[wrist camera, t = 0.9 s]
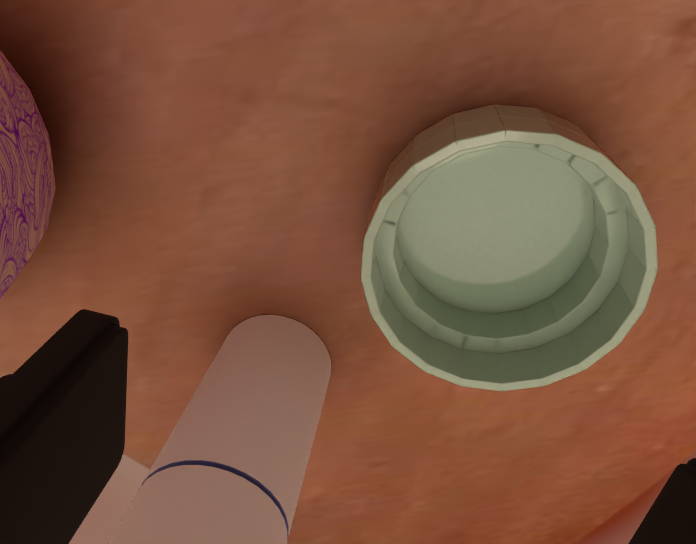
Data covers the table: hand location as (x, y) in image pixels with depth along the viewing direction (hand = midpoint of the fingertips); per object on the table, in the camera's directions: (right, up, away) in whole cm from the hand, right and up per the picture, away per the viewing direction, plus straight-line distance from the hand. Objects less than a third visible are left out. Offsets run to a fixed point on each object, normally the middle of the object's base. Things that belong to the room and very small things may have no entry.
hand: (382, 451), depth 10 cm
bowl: (+7, +6, +23) cm, 24 cm away
